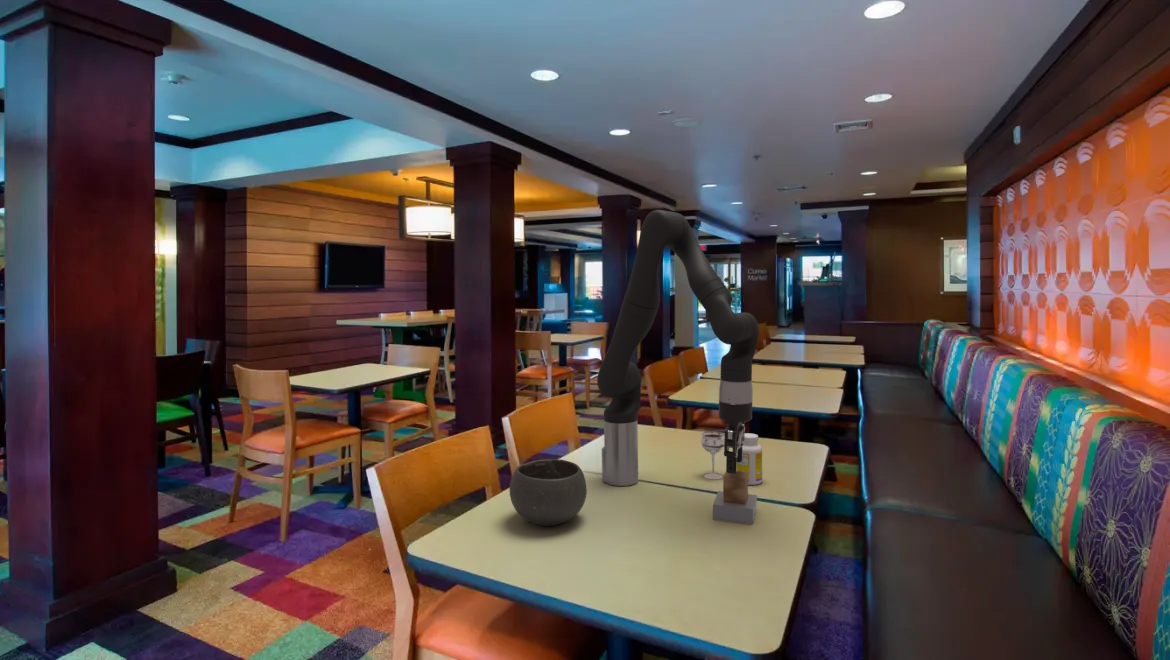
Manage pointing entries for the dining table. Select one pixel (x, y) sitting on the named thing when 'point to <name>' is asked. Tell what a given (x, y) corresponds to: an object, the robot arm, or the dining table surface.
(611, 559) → the dining table surface
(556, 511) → the bowl
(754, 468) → the supplement bottle
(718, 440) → the wineglass
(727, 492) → the walnut block
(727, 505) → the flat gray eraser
